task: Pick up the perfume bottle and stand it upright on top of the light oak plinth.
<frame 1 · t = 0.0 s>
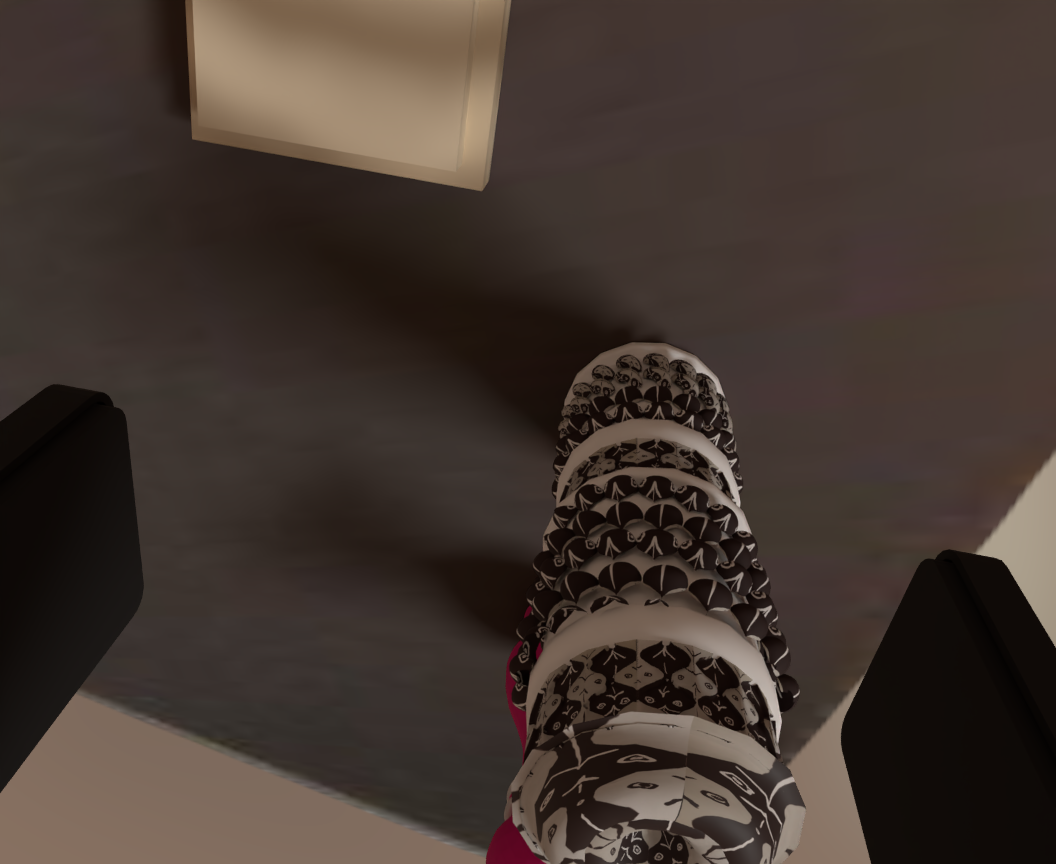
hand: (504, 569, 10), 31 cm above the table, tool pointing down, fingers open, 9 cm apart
decorative candle: (644, 413, 44), on the table
pepper mill: (574, 623, 52), on the table
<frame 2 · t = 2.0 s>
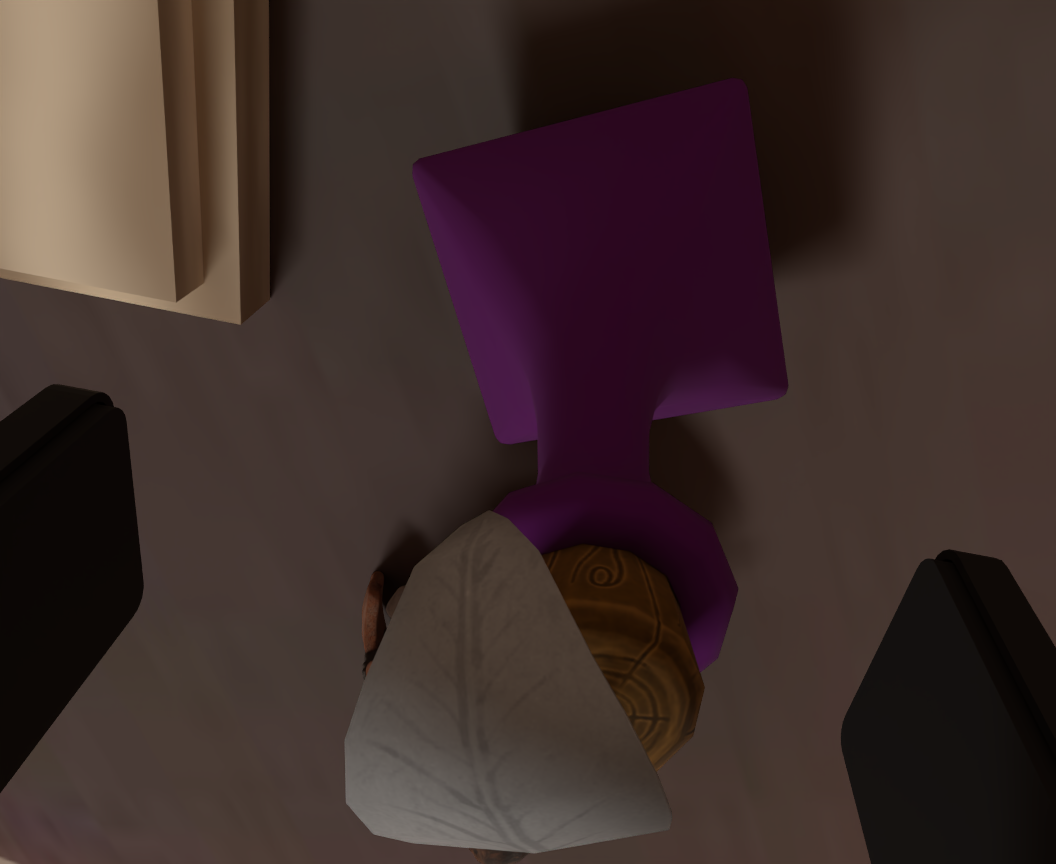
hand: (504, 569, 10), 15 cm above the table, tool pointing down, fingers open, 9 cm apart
pottery mug: (513, 618, 30), on the table
plinth: (25, 17, 22), on the table
perfume bottle: (613, 241, 23), on the table
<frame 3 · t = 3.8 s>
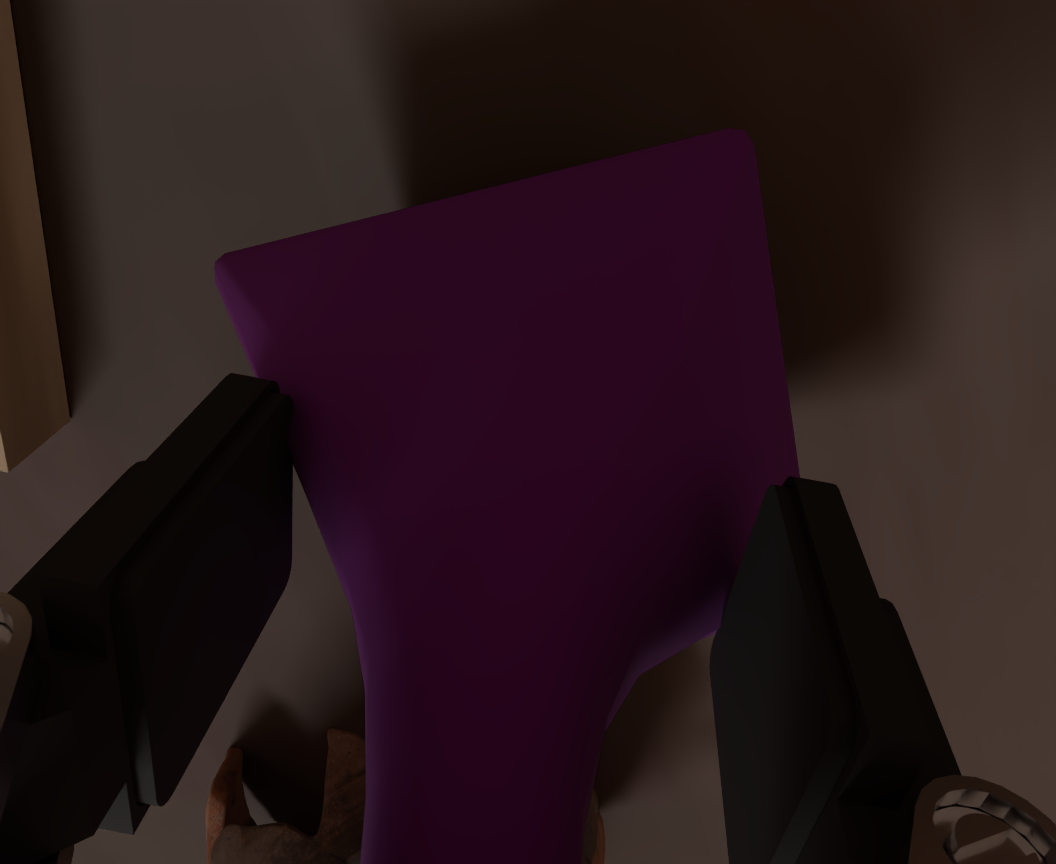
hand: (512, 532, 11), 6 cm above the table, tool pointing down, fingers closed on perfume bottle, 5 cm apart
pottery mug: (418, 799, 23), on the table
perfume bottle: (552, 346, 16), on the table, touching gripper
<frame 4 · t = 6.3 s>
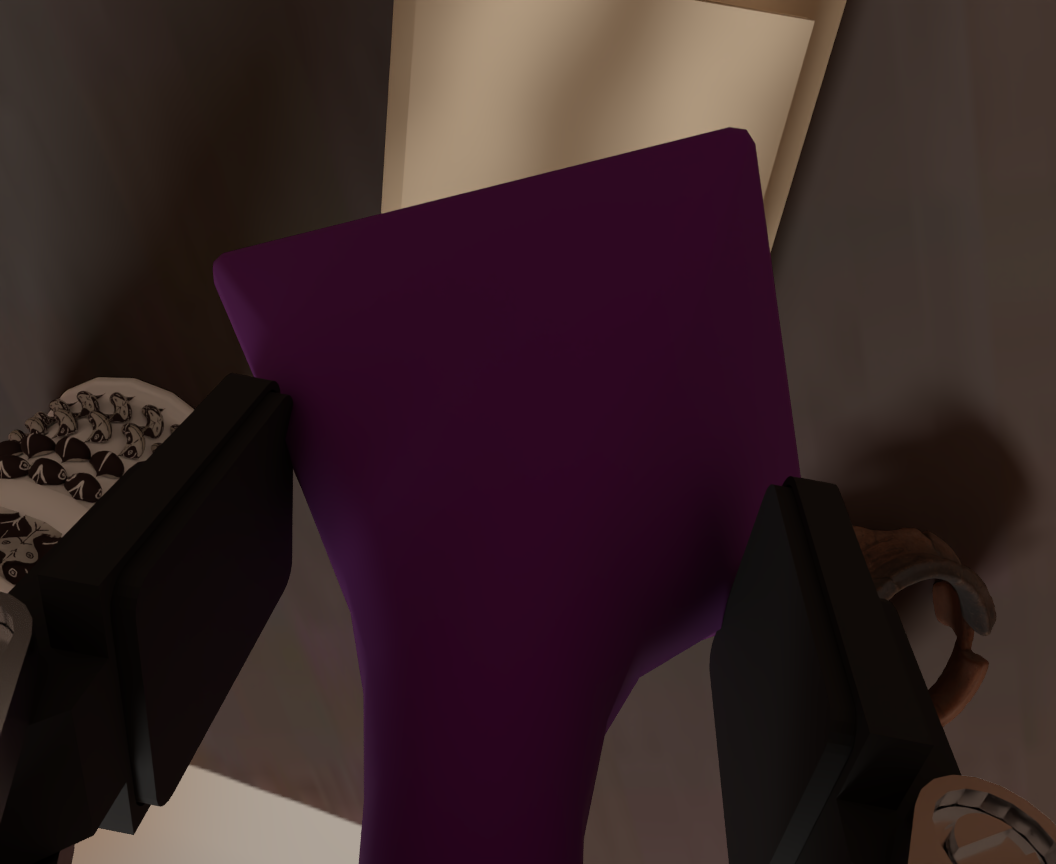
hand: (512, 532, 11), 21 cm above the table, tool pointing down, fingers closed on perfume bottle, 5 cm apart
decorative candle: (143, 459, 38), on the table
pottery mug: (826, 597, 38), on the table
plinth: (586, 161, 29), on the table
perfume bottle: (551, 346, 16), point 16 cm above the table, touching gripper
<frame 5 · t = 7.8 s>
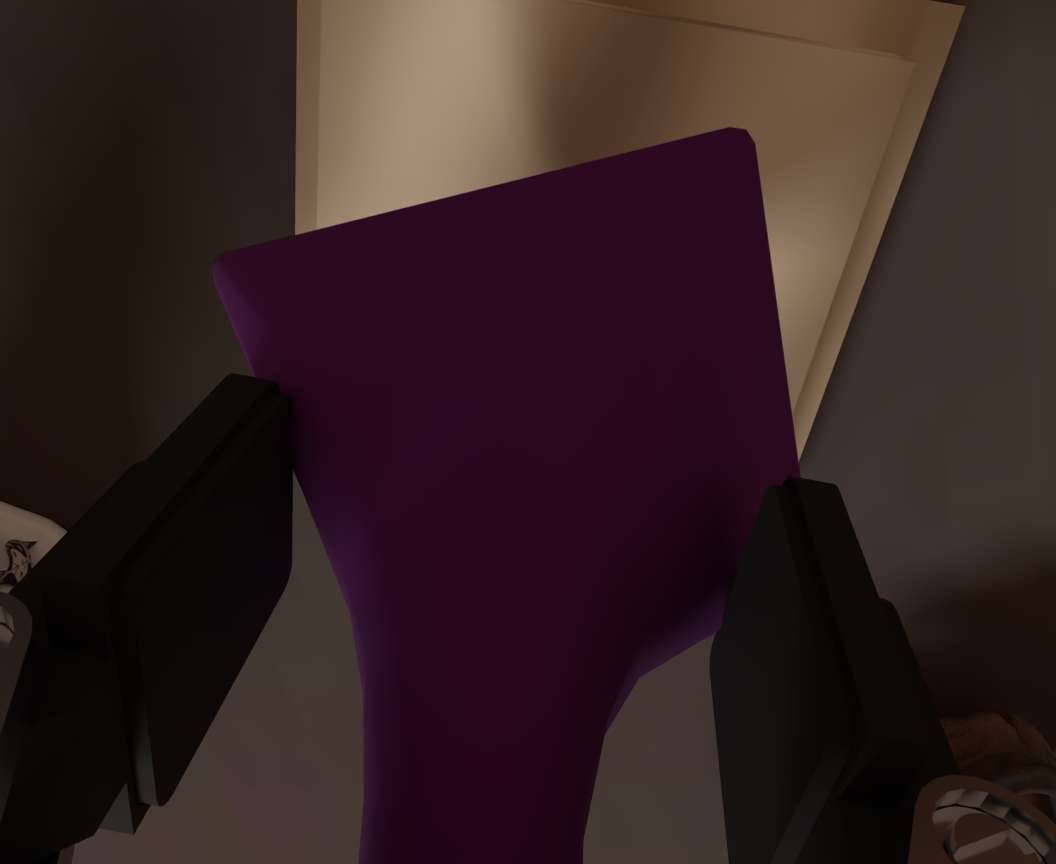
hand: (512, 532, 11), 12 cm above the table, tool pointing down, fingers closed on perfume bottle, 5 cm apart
decorative candle: (22, 593, 30), on the table
pottery mug: (868, 768, 30), on the table
plinth: (576, 243, 21), on the table
perfume bottle: (551, 346, 16), point 7 cm above the table, touching gripper
when the fingers open (10 cm above the table, at t = 9.1 s): perfume bottle drops 1 cm, resting on plinth.
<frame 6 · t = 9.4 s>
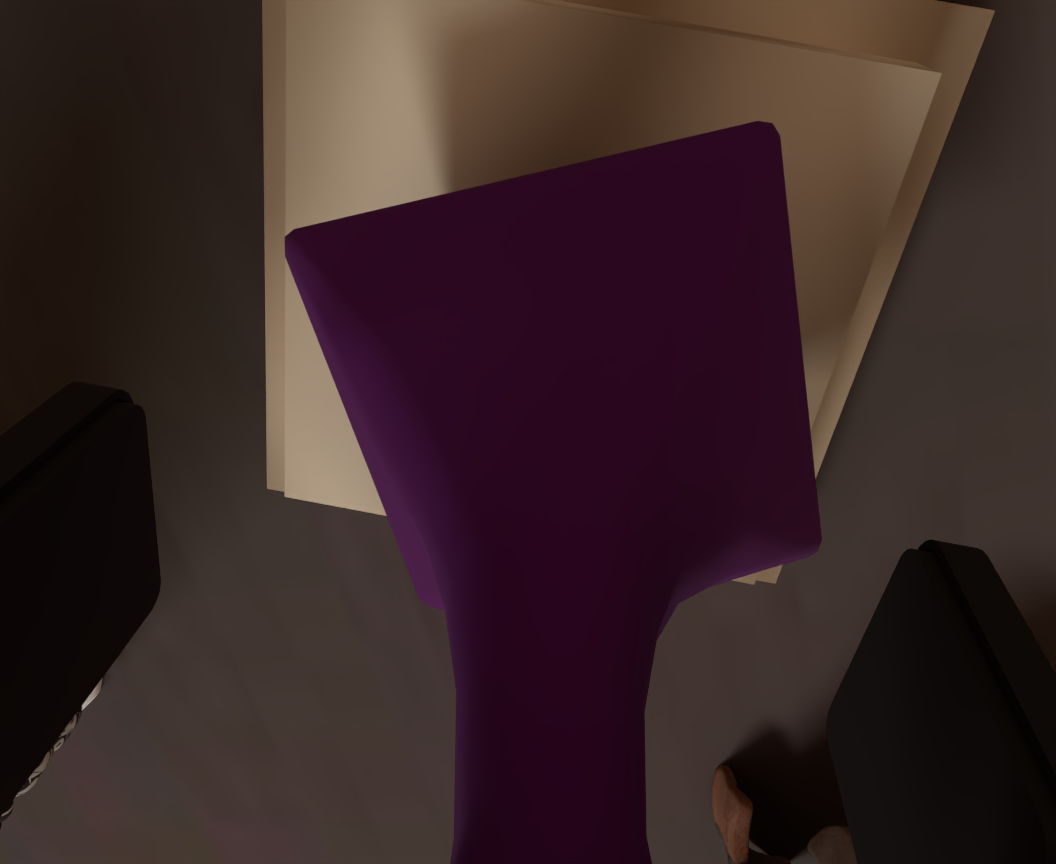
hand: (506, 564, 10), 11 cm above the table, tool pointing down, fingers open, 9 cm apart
pottery mug: (862, 804, 28), on the table
plinth: (569, 264, 20), on the table
perfume bottle: (578, 323, 17), point 3 cm above the table, touching plinth
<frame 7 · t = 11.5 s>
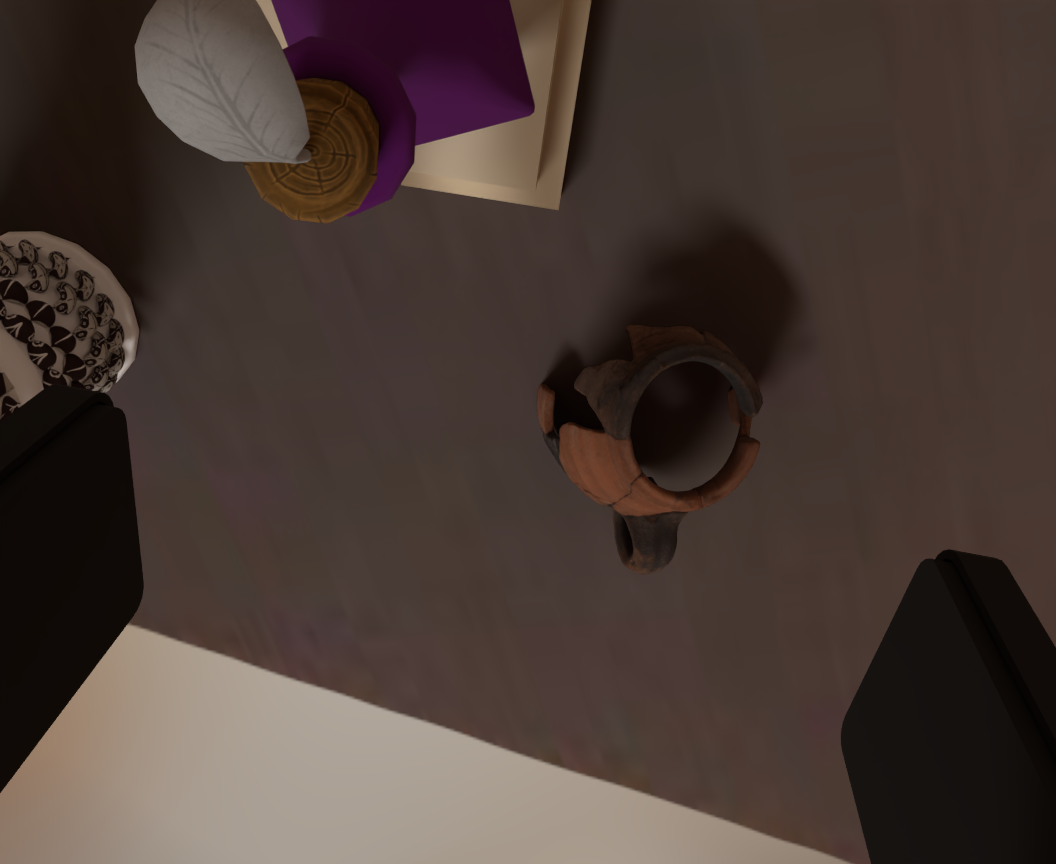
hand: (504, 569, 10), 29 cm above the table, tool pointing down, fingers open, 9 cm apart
decorative candle: (56, 312, 42), on the table
pottery mug: (639, 413, 42), on the table
plinth: (422, 6, 33), on the table
perfume bottle: (417, 16, 31), point 3 cm above the table, touching plinth
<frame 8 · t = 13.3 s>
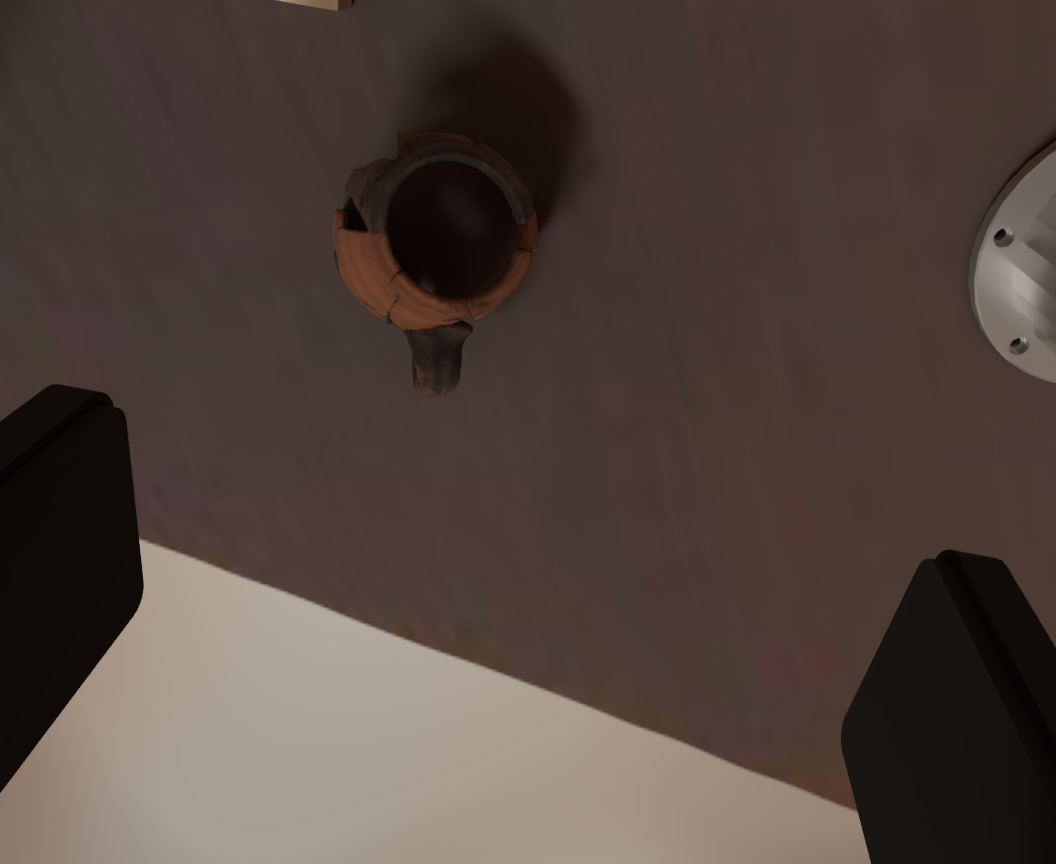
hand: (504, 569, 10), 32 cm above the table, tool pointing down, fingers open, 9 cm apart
pottery mug: (442, 245, 42), on the table
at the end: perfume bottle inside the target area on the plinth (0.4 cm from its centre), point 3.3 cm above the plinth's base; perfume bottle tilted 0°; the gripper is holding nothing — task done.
